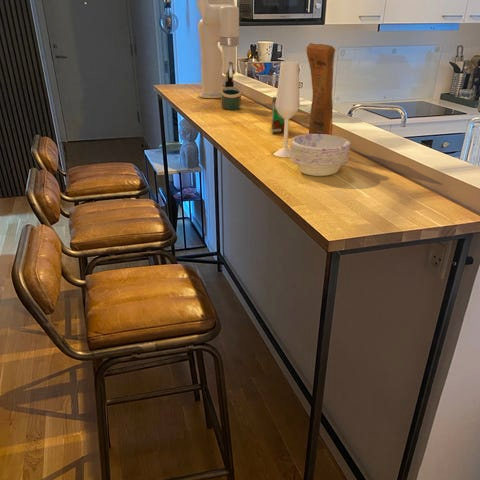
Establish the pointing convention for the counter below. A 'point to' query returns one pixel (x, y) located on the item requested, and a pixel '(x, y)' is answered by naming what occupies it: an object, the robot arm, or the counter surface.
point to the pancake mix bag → (321, 87)
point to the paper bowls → (319, 153)
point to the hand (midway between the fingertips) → (229, 92)
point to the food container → (277, 120)
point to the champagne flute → (287, 98)
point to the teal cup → (230, 98)
